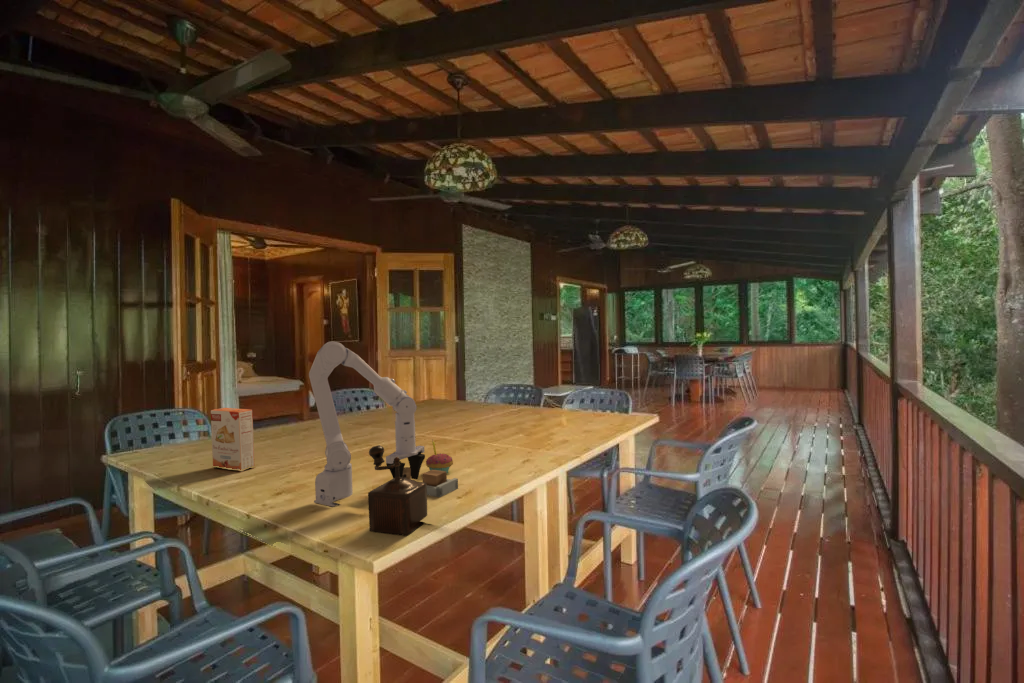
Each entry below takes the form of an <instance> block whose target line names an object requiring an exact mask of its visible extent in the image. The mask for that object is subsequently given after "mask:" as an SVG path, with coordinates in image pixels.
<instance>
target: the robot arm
mask: <svg viewBox="0 0 1024 683" xmlns="http://www.w3.org/2000/svg"><path fill="white" fill-rule="evenodd" d="M340 364H341V365H342V366H343V367H348V368H352V369H353V370H355V371H356V372H358V374H360V375H361V376H362V377H363V378H364V379H366V380H367V381H368V382H370V383H371V384H372V385H373V393H375V394H376V395H377V396H378V397H379V398H380V399H381V400H383V401H384V403H386V404H387V405H388V406H389V407H392V410H393V411H395V413H394V414H395V416H394V417H395V421H394V430H395V431H394V432H395V434H394V435H395V436H394V437H395V451H394V452H392V453H390V454H388V455H387V456H385V466H391V465H394V463H395V462H394V459H395V458H396V457H398V458H399V463H400V466H399V476H400V477H403V470H404V468H405V465H406V462H402V461H401V460H404V459H407V460H408V464H409V467H410V468H411V480H415V481H416V480H419V475H420V471H421V467H422V464H423V462H424V461H425V458H426V454H424V453H425V446H424V445H417V446H416V444H417V443H416V420H415V413H416V411H417V408H418V405H416V404H417V403H416V401H415V400H414V398H412V397H411V396H409V394H407V393H408V391H407V390H405V389H402V388H401V387H400V386H398V384H396V380H395V379H394V378H390V377H389V376H383V377H382V376H380V375H379V374H378V373H377V371H375V370H374V369H373V368H372V367H371V366H370V365H369V364H368V363H366V361H365V360H364V359H363V358H361V357H360V355H359V354H357V353H355V352H354V351H352V350H351V349H349V348H347V347H345V345H344V344H342V343H340V342H339V341H332V340H331V341H328V342H326V343H324V344H323V345H322V346H321V348H320V349H319V350H318V351H317V353H316V355H315V358H314V360H313V363H312V365H311V367H310V369H309V372H308V377H309V380H310V386H311V389H312V393H313V397H314V402H315V405H316V408H317V414H318V417H319V420H320V425H321V429H322V431H323V435H324V439H325V444H326V447H325V451H324V455H325V457H326V464H325V465H324V469H323V470H322V471H321V472H319V473H318V474H317V475H316V477H315V479H314V481H315V482H314V486H315V487H314V488H315V500H313V503H315V504H319V505H324V506H329V507H332V508H333V507H337V506H339V505H340V503H338V502H335V501H339V500H342V499H345V498H349V497H351V496H352V495H353V468H352V467H353V465H352V463H351V460H352V453H351V452H350V450H349V446H348V445H347V443H346V442H344V438H343V434H342V430H341V427H340V424H339V422H340V421H339V418H338V415H337V411H336V407H335V403H334V399H333V395H332V391H331V387H330V383H329V379H328V378H329V377H330V375H331V373H332V372H333V371H334V369H335V368H337V367H338V366H339V365H340ZM388 471H390V474H391V477H392V479H394V478H395V477H396V473H395V467H394V468H392V469H388Z"/></svg>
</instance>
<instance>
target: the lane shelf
mask: <svg viewBox="0 0 1024 683" xmlns="http://www.w3.org/2000/svg"><path fill="white" fill-rule="evenodd" d="M458 489H459V478H456V477H454V478H451V479H449V478H447V482H445V483H442V484H440V485H438V486H436V487H434V486H429V485H427V496H429V497H430V496H431V497H437V498H441V497H444V496H445V495H448V494H449V493H452V492H454V491H455V490H458Z"/></svg>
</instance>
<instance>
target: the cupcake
mask: <svg viewBox="0 0 1024 683" xmlns="http://www.w3.org/2000/svg"><path fill="white" fill-rule="evenodd" d="M431 440H432V441H431V443H432V447H433V453H434V454H432V455H430V456H429V457H428V458H427V459H426V460H425V465H426V468H428V469H429V471H430V470H439V471H445V472H446V473H447V474H448V473H449V470H450V468H451V467H452V466H453V465H454V460H453V457H451V455H449V454H447V453H437V448H436V442H435V441H434V439H431Z"/></svg>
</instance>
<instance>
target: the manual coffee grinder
mask: <svg viewBox="0 0 1024 683" xmlns="http://www.w3.org/2000/svg"><path fill="white" fill-rule="evenodd" d="M384 453H385V448H384V447H383V446H382V445H379V444H378V445H374V446H372V447H371V448H369V450H368V454H369V456H370V457H371V458H372V459H373V465H374V470H375V471H384V470H389V469H392V468H394V467H395V473H396V477H395V478H394V479H393V478H392V479H390V480H388V481H387V482H383V483H382V484H381V485H378V486H376V487H375V488H373V489H372V490H370V491H368V493H367V499H368V500H367V503H368V521H369V522H368V524H369V528H368V530H369V532H372V533H377V534H378V533H379V534H384V535H385V534H386V535H391V536H392V535H394V536H404V537H405V536H406V537H407V536H409V535H410V534H412V533H414V532H415V531H416V530H418V529H419V528H420V527H421V526H423V525H424V524H425V522H424V521H422V520H423V519H425V518H426V517H427V516H428V495H427V484H426V483H425V482H423V481H422V482H421V481H416V479H407V478H406V477H407V475H406V474H404V475H403V477H400V476H399V466H400V463H399V458H398V457H396V458H395V459H394V462H395V463H394V465H391V466H387V465H382V464H383V463H386V460H384V458H383V456H384Z"/></svg>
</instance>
